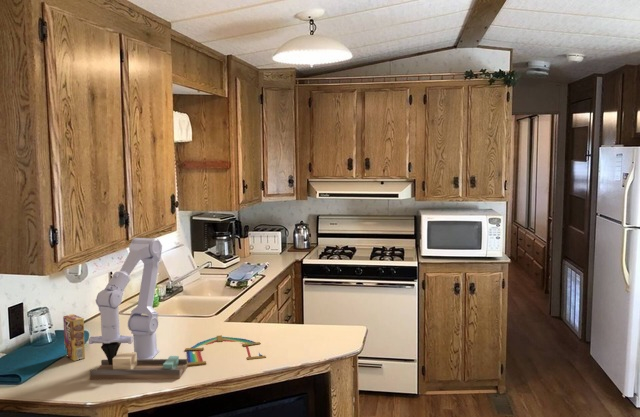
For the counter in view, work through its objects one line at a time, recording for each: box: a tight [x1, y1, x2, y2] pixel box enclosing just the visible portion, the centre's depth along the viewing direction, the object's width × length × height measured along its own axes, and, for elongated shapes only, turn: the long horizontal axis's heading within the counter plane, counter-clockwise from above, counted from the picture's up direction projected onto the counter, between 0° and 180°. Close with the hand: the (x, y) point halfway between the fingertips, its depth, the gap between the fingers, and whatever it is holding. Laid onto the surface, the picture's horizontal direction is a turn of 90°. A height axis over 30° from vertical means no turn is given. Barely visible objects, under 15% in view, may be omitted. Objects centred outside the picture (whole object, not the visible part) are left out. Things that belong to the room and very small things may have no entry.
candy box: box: [62, 313, 86, 362], centre depth 200 cm, size 9×4×15 cm, turn 47°
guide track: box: [89, 355, 188, 380], centre depth 184 cm, size 10×30×4 cm, turn 89°
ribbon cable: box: [184, 335, 267, 367], centre depth 207 cm, size 29×1×30 cm
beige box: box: [113, 351, 137, 369], centre depth 184 cm, size 6×6×4 cm
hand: (112, 363), depth 184 cm, fingers closed
